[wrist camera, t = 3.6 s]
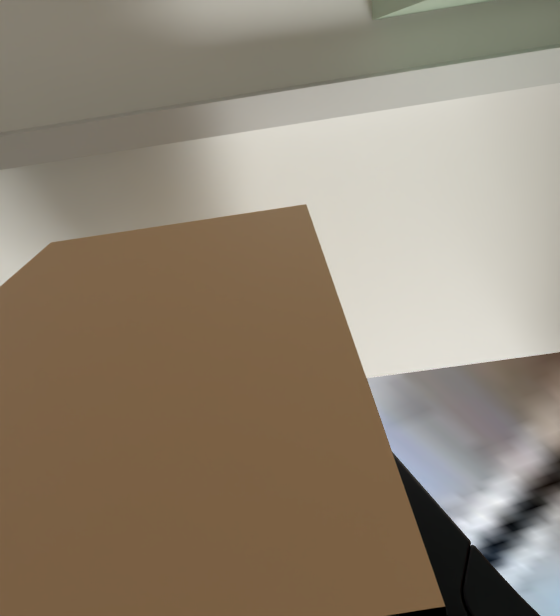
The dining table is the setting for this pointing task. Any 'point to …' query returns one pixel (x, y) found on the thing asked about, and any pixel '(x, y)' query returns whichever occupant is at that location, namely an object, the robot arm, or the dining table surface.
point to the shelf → (307, 150)
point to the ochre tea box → (196, 433)
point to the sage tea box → (413, 6)
